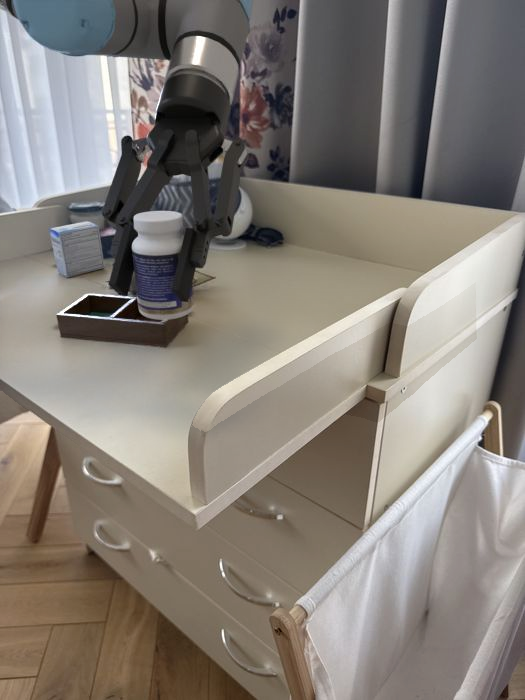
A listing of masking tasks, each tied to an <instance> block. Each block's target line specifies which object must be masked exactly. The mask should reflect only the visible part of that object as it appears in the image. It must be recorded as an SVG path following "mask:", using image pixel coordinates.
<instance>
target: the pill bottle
mask: <svg viewBox="0 0 525 700" xmlns="http://www.w3.org/2000/svg"><path fill="white" fill-rule="evenodd" d="M133 219H134V229H135V230H136V231H137V232H138V237H137V238H135V240H134V241H133V243H132V256H133V264H134V273H135V282H136V292H137V293H136V297H137V301H138V308H139V311H140V313H141V314H142V315H143V316H145V317H147V318H151V319H157V320H168V319H175V318H179V317H182V316H185V315H187V314H188V315H189V314H190V313H191V312H192V311H193V309H194V307H195V302H194V301H195V299H194V289H193V288H194V287H193V286H192V287H191V291H190V296H189V300H188V302H182V301H180V300H179V299H178V297H177V296H176V295H175V294H174V292H173V291H172V290H171V289H172V285H173V281H174V277H175V272H176V268H177V264H178V260H179V256H180V251H181V247H182V243H183V239H184V234H182V229H183V228H184V217H183V214H182V213H181V212H178V211H174V210H173V211H172V210H150V211H149V212H143V213H139V214H136V215H135V216H134V218H133Z"/></svg>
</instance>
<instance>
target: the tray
mask: <svg viewBox="0 0 525 700" xmlns="http://www.w3.org/2000/svg"><path fill="white" fill-rule="evenodd" d="M188 315H189V313H188V314H187V315H185V316H182V317H179V318H175V319H168V320H157V319H151V318H147V317H145V316H143V315H142V314H141V313H140V311H139V308H138V301H137V296H136V297H135V296H120V295H113V294H101V293H100V294H99V293H85V294H84V295H83V296H81V297H80V298H78V299H76V300H75V301H74V302H73V303H71V304H70V305H67V307H66V308H63V310H61V311H60V312H58V313H56V315H55V316H56V320H57V325H58V330H59V335H60V338H68V339H69V338H70V339H79V340H90V341H99V342H109V343H118V344H128V345H136V346H137V345H138V346H147V345H150V346H149V347H156V346H160V347H159V348H167V347H168V346H169V345H170V344H171V343H172V341H174V339H175V338H176V337H177V336H178V335H179V334H180V333H181V332H182V331H183V330H184V328H186V326H187V325H188V324H189V316H188ZM187 323H188V324H187ZM186 324H187V325H186ZM185 325H186V326H185ZM170 342H171V343H170ZM169 343H170V344H169ZM168 344H169V345H168ZM167 345H168V346H167Z"/></svg>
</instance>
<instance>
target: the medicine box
mask: <svg viewBox="0 0 525 700" xmlns="http://www.w3.org/2000/svg"><path fill="white" fill-rule="evenodd" d="M49 236H50V240H51V241H50V242H51V246H52V251H53V255H54V261H55V265H56V271H57V273H58V274H60V275H62V276H63V277H65V278H72V277H74V276H75V277H76V276H79V275H83V274H87V273H90V272H95V271H99V270H101V269H105V268H106V266H105V260H104V254H103V247H102V246H103V245H102V240H101V233H100V227H99V225H97V224H96V223H93V222H91V221H82V222H75V223H71V224H66V225H60V226H56V227H51V228H49Z"/></svg>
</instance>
